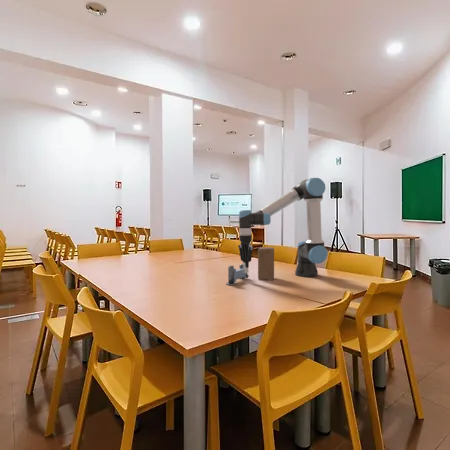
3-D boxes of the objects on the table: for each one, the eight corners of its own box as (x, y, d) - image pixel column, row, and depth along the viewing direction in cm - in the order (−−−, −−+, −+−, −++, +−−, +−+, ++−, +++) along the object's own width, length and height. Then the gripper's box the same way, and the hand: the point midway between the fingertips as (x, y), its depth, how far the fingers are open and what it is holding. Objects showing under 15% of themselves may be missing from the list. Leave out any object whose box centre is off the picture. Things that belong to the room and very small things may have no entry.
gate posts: (246, 278, 204) (246, 261, 203) (233, 285, 182) (233, 267, 182) (238, 277, 206) (238, 260, 205) (224, 284, 184) (224, 266, 184)
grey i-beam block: (244, 277, 203) (244, 264, 203) (248, 277, 201) (248, 264, 201) (230, 282, 188) (230, 268, 188) (235, 283, 187) (235, 269, 186)
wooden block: (273, 280, 196) (273, 249, 195) (257, 280, 197) (257, 248, 197) (274, 277, 205) (274, 247, 205) (258, 276, 207) (259, 247, 206)
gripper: (256, 235, 189) (257, 273, 190) (244, 234, 200) (244, 270, 201) (246, 235, 185) (247, 274, 186) (234, 234, 196) (235, 271, 197)
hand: (246, 272), depth 194 cm, fingers closed
